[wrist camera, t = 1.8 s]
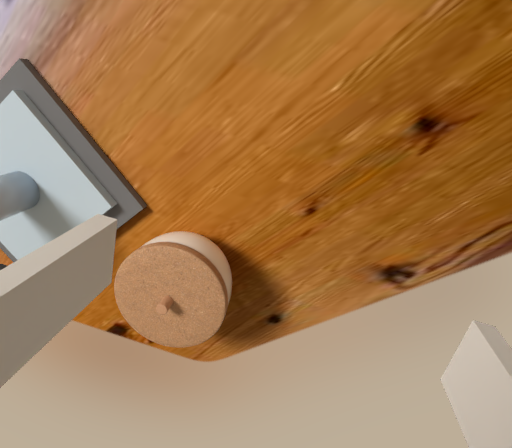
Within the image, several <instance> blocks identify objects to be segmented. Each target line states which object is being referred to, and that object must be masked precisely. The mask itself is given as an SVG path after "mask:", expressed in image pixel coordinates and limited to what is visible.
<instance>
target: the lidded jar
mask: <svg viewBox="0 0 512 448" xmlns="http://www.w3.org/2000/svg"><path fill="white" fill-rule="evenodd" d="M114 290H115V297H116V302H117V305H118V307H119V309H120V312H121V313H122V315H123V317H124V318H125V320H126V321H127V322H128V323H129V325H130V326H131V327H132V328H133V329H134V330H135V331H137V332H138V333H139V334H141V335H142V336H144V337H145V338H147V339H149V340H150V341H153V342H155V343H158V344H161V345H164V346H169V347H190V346H194V345H198V344H200V343H202V342H205V341H206V340H208V339H209V338H211V337H212V336H213V335H214V334H215V333H216V332H217V331H218V329H219V328H220V327H221V325H222V323H223V320H224V318H225V316H226V312H227V307H228V304H229V301H230V297H231V291H232V274H231V269H230V266H229V263H228V261H227V259H226V257H225V255H224V254H223V252H222V251H221V249H220V248H219V247H218V246H217V245H216V244H215V243H213V242H212V241H211V240H209V239H208V238H206V237H204V236H202V235H199V234H196V233H193V232H186V231H175V232H170V233H166V234H163V235H160V236H157V237H155V238H154V239H152V240H150V241H148V242H147V243H145V244H144V245H143V246H141V247H140V248H139V249H137V250H135V251H134V252H133V253H131V254H130V255H129V256H128V257H127V258H126V259H125V260H124V261H123V263H122V264H121V265H120V267H119V269H118V271H117V274H116V277H115V284H114Z"/></svg>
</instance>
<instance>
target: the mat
mask: <svg viewBox="0 0 512 448" xmlns="http://www.w3.org/2000/svg"><path fill="white" fill-rule="evenodd" d="M12 90H23V92H24V93H25V94H26V95H27V96H28V98H29V99H30V100H31V101H32V102H33V104H34V105H35V106H36V107H37V108H38V109H39V111H40V112H41V113H42V114H43V115H44V117H45V118H46V119H47V120H48V121H49V123H50V124H51V125H52V126H53V127H54V129H55V130H56V131H57V132H58V133H59V134H60V136H61V137H62V138H63V139H64V140H65V142H66V143H67V144H68V145H69V146H70V148H71V149H72V150H73V151H74V152H75V154H76V155H77V156H78V157H79V158H80V160H81V161H82V162H83V163H84V164H85V165H86V167H87V168H88V169H89V170H90V171H91V173H92V174H93V175H94V176H95V177H96V179H97V180H98V181H99V182H100V183H101V185H102V186H103V187H104V188H105V189H106V190H107V192H108V193H109V194H110V195H111V196H112V198H113V199H114V200H115V201H116V202H117V205H115V206H114V207H113V208H112V209H110V210H109V211H108V212H107V213H105V214H104V216H107V217H111V218H114V219H117V229H118V228H119V227H121V226H122V225H123V224H124V223H126V222H127V221H128V220H130V219H131V218H132V217H133V216H135V215H136V214H137V213H139V212H140V211H141V210H142V209H144V208H145V207H146V206H147V205H146V203H145V202H144V201H143V200H142V199H141V197H140V196H139V195H138V194H137V192H136V191H135V190H134V189H133V188H132V186H131V185H130V184H129V183H128V182H127V180H126V179H125V178H124V177H123V175H122V174H121V173H120V172H119V171H118V169H117V168H116V167H115V166H114V164H113V163H112V162H111V161H110V160H109V158H108V157H107V156H106V155H105V154H104V152H103V151H102V150H101V149H100V147H99V146H98V145H97V144H96V143H95V141H94V140H93V139H92V138H91V136H90V135H89V134H88V133H87V132H86V130H85V129H84V128H83V127H82V126H81V124H80V123H79V122H78V121H77V119H76V118H75V117H74V116H73V115H72V113H71V112H70V111H69V110H68V108H67V107H66V106H65V105H64V104H63V102H62V101H61V100H60V99H59V98H58V96H57V95H56V94H55V93H54V91H53V90H52V89H51V88H50V87H49V85H48V84H47V83H46V82H45V80H44V79H43V78H42V77H41V76H40V74H39V73H38V72H37V71H36V70H35V68H34V67H33V66H32V65H31V63H30V62H29V61H28V60H27V59H19V60H18V61H17V62H16V63H15V64H14V65H13V66H12V68H11V69H10V70H9V71H8V72H7V73H6V74H5V76H4V77H3V78H2V79H1V80H0V104H1V102H2V101H3V100H4V99H5V98H6V97H7V96H8V95H9V94H10V93H11V91H12ZM117 229H116V230H117ZM0 248H1V249H2V250H3V252H4V253H5V254H6V255H7V256H8V257H9V258H10V259H11V260H12V261H13V262H16V261H17V259H16V258H15V257H14V256H13V255H12V254H11V253H10V251H9V250H8V249H7V248H6V247H5V246H4V245H3V244H2V243H1V242H0Z"/></svg>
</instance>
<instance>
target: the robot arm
mask: <svg viewBox="0 0 512 448" xmlns="http://www.w3.org/2000/svg"><path fill="white" fill-rule="evenodd" d="M116 229H117V219H114V218H111V217H107V216H104V215H100V214H97V215H95V216H93V217H92V218H90V219H88V220H87V221H85V222H83V223H81V224H80V225H78V226H76V227H74V228H73V229H71V230H69V231H68V232H66V233H64V234H62V235H61V236H59V237H57V238H55V239H54V240H52V241H50V242H48V243H47V244H45V245H43V246H42V247H40V248H38V249H36V250H35V251H33V252H31V253H29V254H28V255H26V256H24V257H23V258H21V259H19V260H17V261H16V262H14V263H12V264H10V265H9V266H6V265H3V264H0V388H1V386H3V385H4V384H5V383H6V382H7V381H8V380H9V379H10V378H11V377H12V376H13V375H14V374H15V373H16V372H17V371H18V370H20V368H22V367H23V366H24V365H25V364H26V363H27V362H28V361H29V360H30V359H31V358H32V357H33V356H34V355H35V354H36V353H37V352H38V351H40V350H41V349H42V348H43V347H44V346H45V345H46V344H47V343H48V342H49V341H50V340H51V339H52V338H53V337H54V336H55V335H56V334H57V333H59V331H61V330H62V329H63V328H64V327H65V326H66V325H67V324H68V323H69V322H70V321H71V320H72V319H73V318H74V317H75V316H76V315H78V314H79V313H80V312H81V311H82V310H83V309H84V308H85V307H86V306H87V305H88V304H89V303H90V302H91V301H92V300H93V299H94V298H95V297H96V296H98V295H99V294H100V293H101V292H102V291H103V290H104V289H105V288H106V287H107V286H108V285H109V284H110V283H111V280H112V270H113V260H114V250H115V239H116ZM440 380H441V382H442V384H443V387H444V389H445V391H446V394H447V397H448V399H449V401H450V404H451V406H452V408H453V411H454V413H455V416H456V418H457V420H458V423H459V425H460V427H461V430H462V432H463V435H464V437H465V439H466V442H467V444H468V447H469V448H512V349H511V347H510V346H509V345H508V343H507V342H506V340H505V339H504V338H503V336H502V335H501V334H500V332H499V331H498V330H497V328H496V327H495V326H492V325H489V324H485V323H482V322H478V321H474V320H473V321H472V323H471V325H470V326H469V328H468V330H467V332H466V334H465V335H464V337H463V339H462V341H461V343H460V344H459V347H458V348H457V350H456V352H455V354H454V356H453V357H452V359H451V361H450V363H449V364H448V366H447V368H446V370H445V372H444V374H443V376H442V377H441V379H440Z"/></svg>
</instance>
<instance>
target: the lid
mask: <svg viewBox="0 0 512 448" xmlns="http://www.w3.org/2000/svg"><path fill="white" fill-rule="evenodd" d="M115 205H117V202H116V201H115V200H114V199H113V198H112V196H111V195H110V194H109V193H108V192H107V190H106V189H105V188H104V187H103V186H102V185H101V183H100V182H99V181H98V180H97V179H96V177H95V176H94V175H93V174H92V173H91V171H90V170H89V169H88V168H87V167H86V165H85V164H84V163H83V162H82V161H81V160H80V158H79V157H78V156H77V155H76V154H75V152H74V151H73V150H72V149H71V148H70V146H69V145H68V144H67V143H66V142H65V140H64V139H63V138H62V137H61V136H60V134H59V133H58V132H57V131H56V130H55V129H54V127H53V126H52V125H51V124H50V123H49V121H48V120H47V119H46V118H45V117H44V115H43V114H42V113H41V112H40V111H39V109H38V108H37V107H36V106H35V105H34V104H33V102H32V101H31V100H30V99H29V98H28V96H27V95H26V94H25V93H24V92H23V90H12V91H11V93H10V94H9V95H8V96H7V97H6V98H5V99H4V100H3V101H2V102H1V104H0V242H1V243H2V244H3V245H4V246H5V247H6V248H7V249H8V250H9V251H10V253H11V254H12V255H13V256H14V257H15V258H16V259H17V260H19V259H21V258H23V257H24V256H26V255H28V254H29V253H31V252H33V251H35V250H36V249H38V248H40V247H42V246H43V245H45V244H47V243H48V242H50V241H52V240H54V239H55V238H57V237H59V236H61V235H62V234H64V233H66V232H68V231H69V230H71V229H73V228H74V227H76V226H78V225H80V224H81V223H83V222H85V221H87V220H88V219H90V218H92V217H93V216H95V215H97V214H100V215H104V214H105V213H107V212H108V211H109V210H110V209H112V208H113V207H114V206H115Z"/></svg>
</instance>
